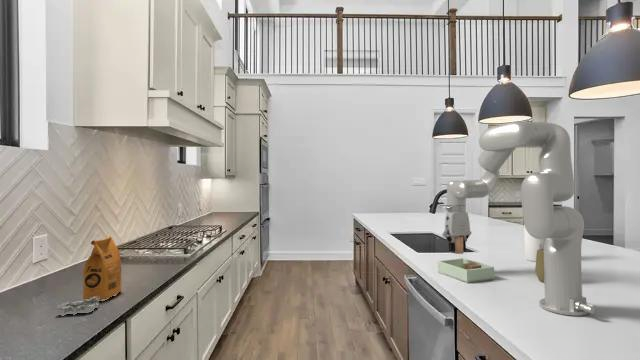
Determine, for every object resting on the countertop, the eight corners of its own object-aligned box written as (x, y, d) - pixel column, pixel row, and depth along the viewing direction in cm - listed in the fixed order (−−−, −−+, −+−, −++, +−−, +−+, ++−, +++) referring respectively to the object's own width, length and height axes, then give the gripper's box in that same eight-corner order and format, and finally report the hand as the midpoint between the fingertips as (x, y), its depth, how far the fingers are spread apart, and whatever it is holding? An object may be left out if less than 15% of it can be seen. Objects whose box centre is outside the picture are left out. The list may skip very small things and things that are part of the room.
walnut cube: (481, 277, 139) (481, 265, 139) (471, 278, 138) (471, 266, 138) (472, 274, 144) (472, 262, 144) (462, 275, 142) (462, 263, 142)
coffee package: (77, 303, 121) (76, 241, 121) (100, 292, 134) (99, 235, 134) (105, 302, 121) (104, 240, 121) (126, 291, 134) (124, 235, 134)
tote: (494, 279, 138) (494, 266, 138) (467, 283, 134) (466, 270, 134) (463, 269, 155) (462, 258, 155) (438, 272, 151) (437, 261, 151)
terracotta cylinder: (466, 253, 147) (465, 236, 147) (456, 254, 145) (456, 237, 145) (457, 251, 152) (457, 235, 152) (448, 252, 150) (448, 236, 150)
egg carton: (101, 307, 118) (101, 295, 118) (91, 315, 110) (91, 302, 110) (67, 309, 116) (67, 297, 116) (54, 318, 109) (54, 305, 109)
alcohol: (523, 257, 174) (521, 198, 174) (543, 259, 171) (542, 198, 171) (526, 261, 166) (524, 199, 166) (547, 263, 162) (546, 199, 163)
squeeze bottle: (552, 278, 138) (551, 233, 138) (564, 284, 130) (563, 237, 130) (531, 278, 138) (530, 233, 138) (542, 284, 130) (541, 237, 130)
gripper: (446, 210, 142) (447, 254, 142) (478, 208, 148) (479, 250, 148) (434, 209, 149) (435, 251, 149) (466, 207, 155) (466, 247, 155)
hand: (457, 250), depth 149 cm, fingers closed on terracotta cylinder, 5 cm apart
